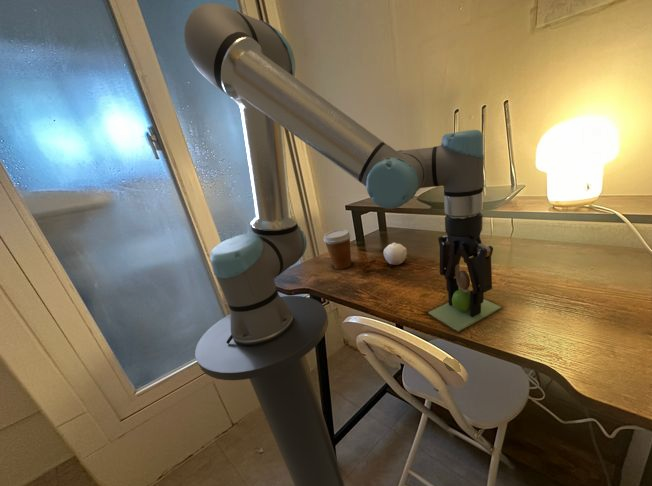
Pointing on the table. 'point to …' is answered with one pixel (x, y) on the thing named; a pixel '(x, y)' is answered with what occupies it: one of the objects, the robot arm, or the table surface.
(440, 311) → the edge mat
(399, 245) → the garlic bulb
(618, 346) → the table surface
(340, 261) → the disposable coffee cup
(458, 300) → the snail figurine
